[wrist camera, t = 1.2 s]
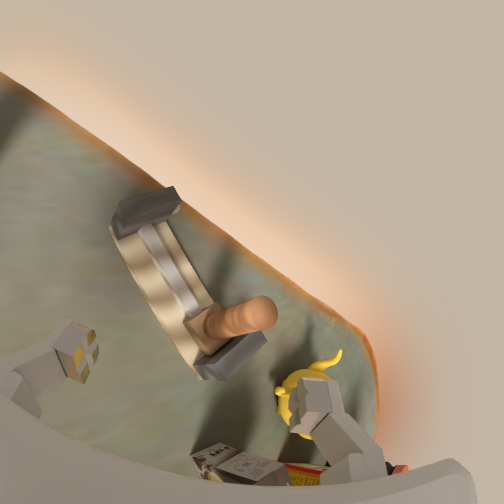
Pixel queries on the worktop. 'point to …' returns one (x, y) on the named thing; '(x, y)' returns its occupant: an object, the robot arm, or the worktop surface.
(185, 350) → the track
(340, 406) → the robot arm
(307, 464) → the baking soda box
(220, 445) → the coffee box
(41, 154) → the worktop surface
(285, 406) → the teapot
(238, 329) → the wooden peg on plate
